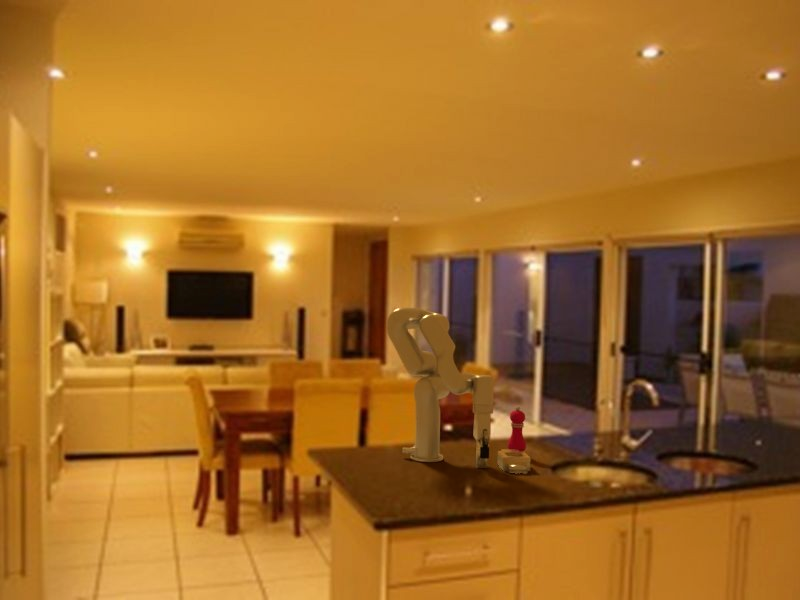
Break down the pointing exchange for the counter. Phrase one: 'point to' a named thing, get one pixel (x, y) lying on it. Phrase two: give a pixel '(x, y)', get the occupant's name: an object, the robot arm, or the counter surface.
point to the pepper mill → (517, 431)
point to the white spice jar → (479, 462)
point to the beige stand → (514, 461)
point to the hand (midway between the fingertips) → (482, 455)
